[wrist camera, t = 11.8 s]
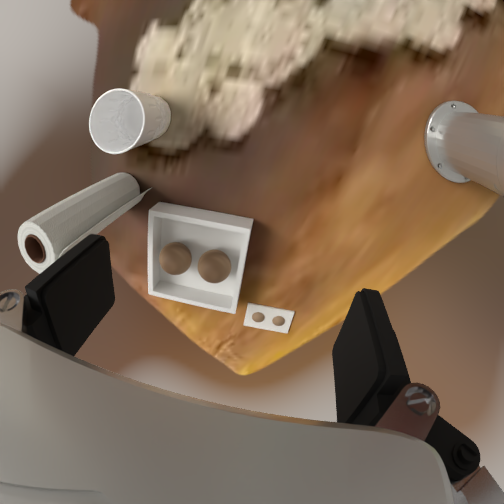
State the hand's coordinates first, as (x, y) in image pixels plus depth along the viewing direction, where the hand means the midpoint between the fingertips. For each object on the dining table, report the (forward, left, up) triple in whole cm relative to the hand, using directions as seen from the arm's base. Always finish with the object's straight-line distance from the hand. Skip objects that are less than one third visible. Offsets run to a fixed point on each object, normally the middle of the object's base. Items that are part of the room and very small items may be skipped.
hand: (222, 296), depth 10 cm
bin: (+8, +16, -32) cm, 37 cm away
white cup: (+18, -4, -32) cm, 37 cm away
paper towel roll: (+21, +8, -32) cm, 39 cm away
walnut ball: (+11, +17, -29) cm, 35 cm away
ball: (+5, +16, -29) cm, 34 cm away
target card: (-5, +26, -32) cm, 42 cm away
